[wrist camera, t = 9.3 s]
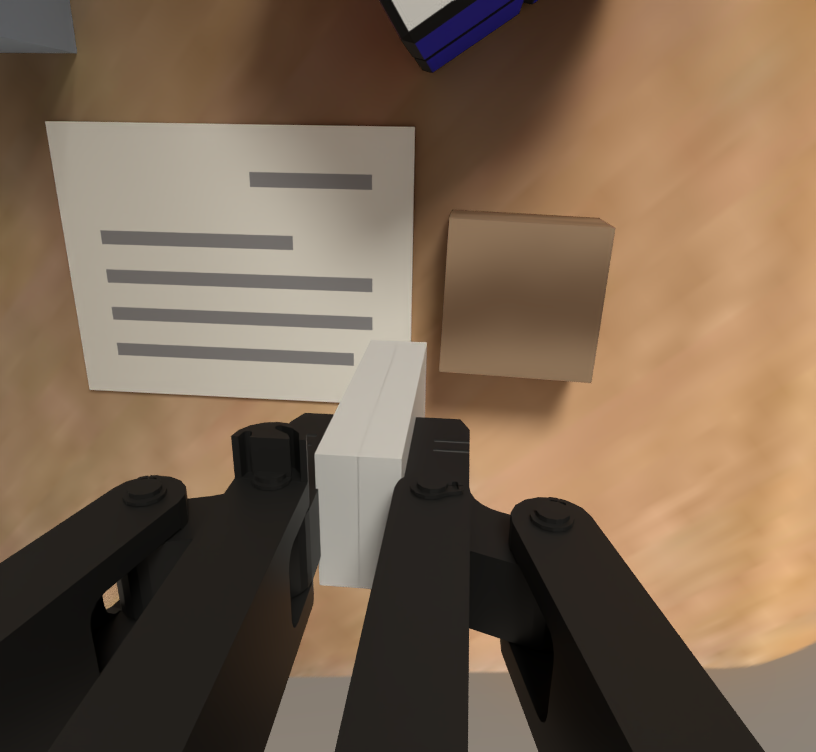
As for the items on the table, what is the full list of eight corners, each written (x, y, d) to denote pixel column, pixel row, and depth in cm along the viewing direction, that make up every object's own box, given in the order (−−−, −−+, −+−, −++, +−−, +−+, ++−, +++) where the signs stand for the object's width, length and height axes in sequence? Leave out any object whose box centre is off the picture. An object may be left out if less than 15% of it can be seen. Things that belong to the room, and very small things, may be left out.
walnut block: (452, 209, 31) (449, 218, 28) (598, 217, 31) (615, 228, 27) (442, 346, 34) (439, 371, 30) (578, 355, 33) (591, 383, 30)
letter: (47, 121, 31) (45, 121, 31) (415, 126, 30) (414, 126, 30) (91, 388, 36) (89, 389, 36) (409, 404, 35) (409, 406, 35)
